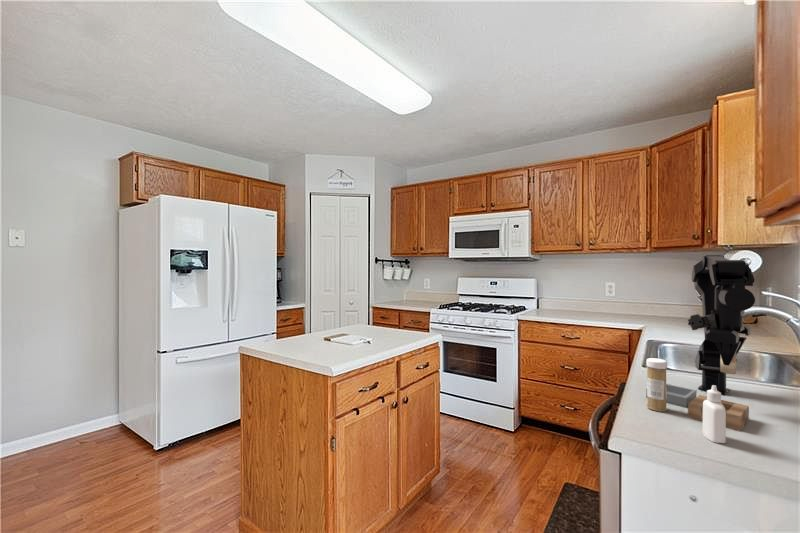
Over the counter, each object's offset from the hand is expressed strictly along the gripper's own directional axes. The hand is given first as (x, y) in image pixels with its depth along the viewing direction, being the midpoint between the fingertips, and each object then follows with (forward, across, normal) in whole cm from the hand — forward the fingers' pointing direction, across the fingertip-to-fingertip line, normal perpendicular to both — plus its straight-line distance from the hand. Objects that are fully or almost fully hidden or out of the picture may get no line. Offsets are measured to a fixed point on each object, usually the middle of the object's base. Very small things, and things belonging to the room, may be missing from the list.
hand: (728, 364), depth 101 cm
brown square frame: (+12, +10, 0) cm, 16 cm away
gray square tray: (+12, +3, -12) cm, 17 cm away
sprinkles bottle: (+12, +15, -12) cm, 23 cm away
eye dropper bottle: (+12, +24, +2) cm, 27 cm away
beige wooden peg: (+2, 0, 0) cm, 2 cm away
